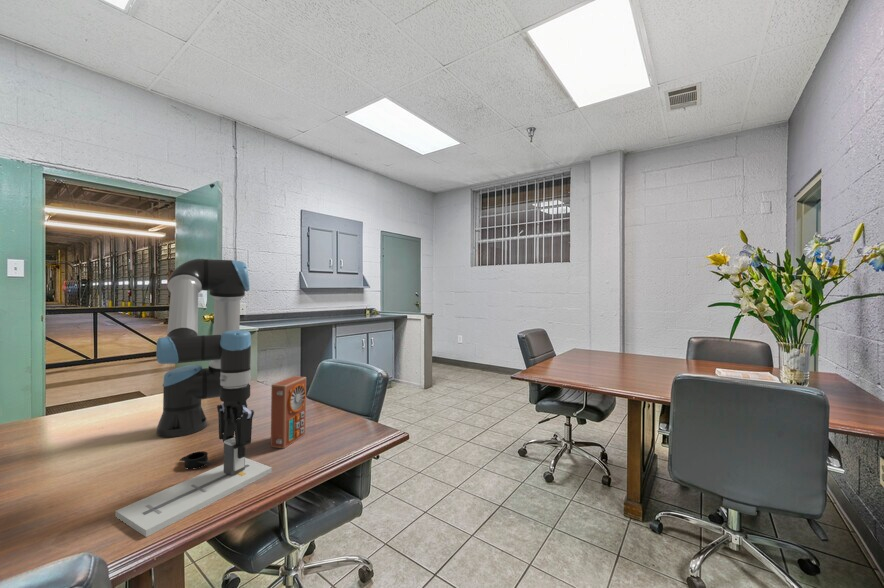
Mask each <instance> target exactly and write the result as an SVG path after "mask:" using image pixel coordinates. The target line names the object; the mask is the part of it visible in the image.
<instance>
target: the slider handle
mask: <svg viewBox="0 0 884 588" xmlns="http://www.w3.org/2000/svg"><path fill="white" fill-rule="evenodd" d="M234 446H236V440H235V436H234V437H233V438H231V439H228V440H225V441H224V443H223V464H224V473H226V474H228V475H231V476H232V475H234V474H236V473H238V472H240V471H242V470H245V461H244V467H243V468H241V469H238V470H236V471H234Z"/></svg>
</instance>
